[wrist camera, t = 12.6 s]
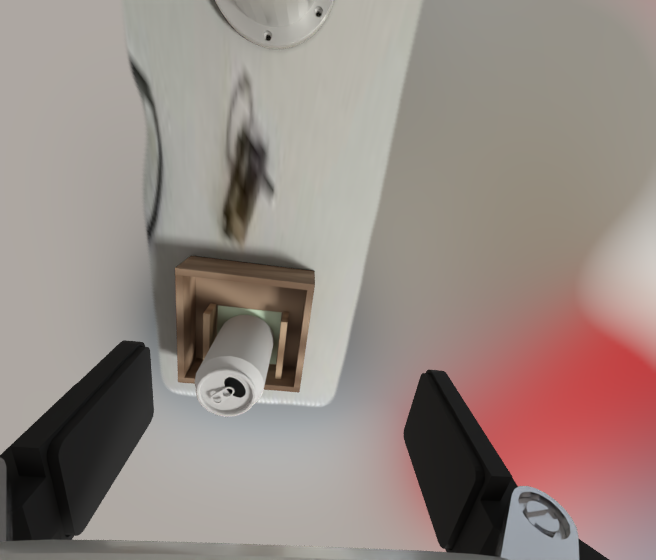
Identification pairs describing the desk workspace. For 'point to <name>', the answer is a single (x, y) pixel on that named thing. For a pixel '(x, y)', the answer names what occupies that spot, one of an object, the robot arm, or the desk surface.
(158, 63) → the desk surface
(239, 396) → the can
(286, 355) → the walnut box
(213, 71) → the desk surface
